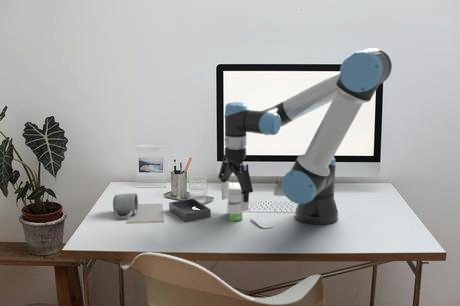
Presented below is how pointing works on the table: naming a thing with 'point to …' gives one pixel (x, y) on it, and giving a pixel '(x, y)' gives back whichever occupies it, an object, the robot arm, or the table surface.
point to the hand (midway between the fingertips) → (234, 204)
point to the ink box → (234, 201)
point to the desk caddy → (189, 210)
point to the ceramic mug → (125, 205)
